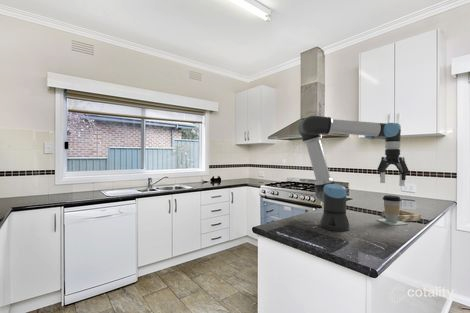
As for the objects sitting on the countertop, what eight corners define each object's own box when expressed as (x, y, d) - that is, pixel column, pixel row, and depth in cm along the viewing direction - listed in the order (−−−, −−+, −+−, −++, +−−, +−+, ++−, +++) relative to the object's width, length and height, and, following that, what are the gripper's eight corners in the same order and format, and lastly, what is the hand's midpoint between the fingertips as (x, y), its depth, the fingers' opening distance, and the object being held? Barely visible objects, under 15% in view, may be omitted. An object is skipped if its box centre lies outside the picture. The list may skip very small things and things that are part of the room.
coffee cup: (395, 219, 146) (395, 195, 146) (404, 223, 137) (405, 198, 137) (379, 218, 147) (379, 194, 147) (387, 223, 138) (387, 197, 138)
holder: (401, 221, 143) (401, 216, 143) (382, 215, 157) (382, 210, 157) (420, 220, 146) (420, 214, 146) (400, 214, 160) (400, 209, 160)
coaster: (392, 225, 136) (392, 224, 136) (376, 220, 146) (376, 219, 146) (407, 224, 138) (407, 223, 138) (391, 219, 149) (391, 218, 149)
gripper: (417, 148, 130) (416, 187, 130) (381, 149, 155) (380, 181, 155) (406, 148, 129) (405, 187, 129) (371, 149, 153) (370, 181, 153)
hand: (391, 184), depth 142 cm, fingers open, 13 cm apart
